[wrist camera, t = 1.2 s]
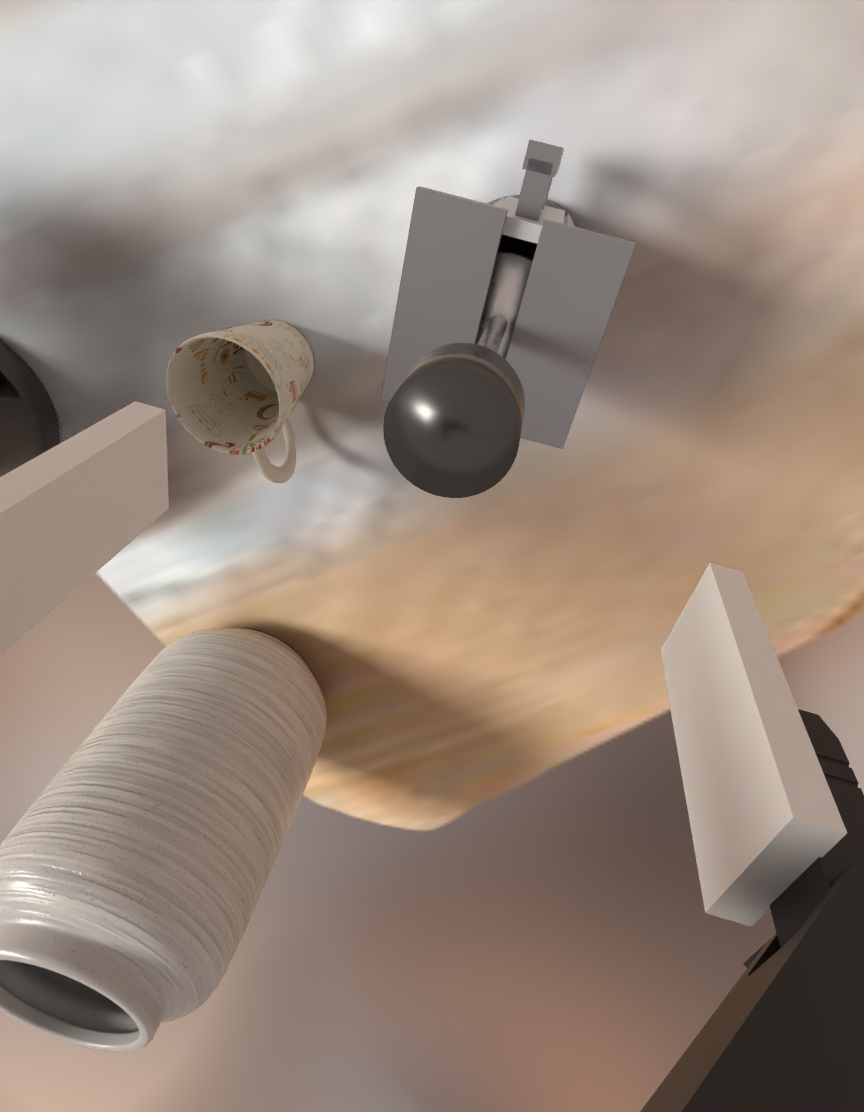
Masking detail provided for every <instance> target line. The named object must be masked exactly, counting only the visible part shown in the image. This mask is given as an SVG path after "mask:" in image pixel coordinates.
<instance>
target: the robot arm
mask: <svg viewBox="0 0 864 1112" xmlns="http://www.w3.org/2000/svg"><path fill="white" fill-rule="evenodd" d="M58 440H59V433H58V425H57V420H56V416H55V413H54V409H53V407H52V404H51V402H50V400H49V398H48V396H47V394H46V392H45V390H44V388H43V387H42V385H41V383H40V382H39V380H38V379H37V377H36V376H35V375H34V373H33V372H32V371H31V370H30V368H29V367H28V366H27V365H26V364H25V363H24V362H23V361H22V360H21V359H20V357H18V356H17V355H16V354H15V353H14V352H13V351H12V350H11V349H10V348H8V347H7V346H6V345H5V344H3V343H2V342H0V656H1V655H2V654H3V653H4V652H5V651H6V650H8V649H9V648H10V647H11V646H12V645H13V644H14V643H16V642H17V641H18V640H19V639H20V638H21V637H22V636H24V635H25V634H26V633H27V632H28V631H29V630H30V629H32V628H33V627H34V626H35V625H36V624H37V623H38V622H39V621H41V620H42V619H43V618H44V617H45V616H46V615H47V614H49V613H50V612H51V611H52V610H53V609H54V608H56V607H57V606H58V605H59V604H60V603H61V602H62V601H64V600H65V599H66V598H67V597H68V596H69V595H71V594H72V593H73V592H74V591H75V590H76V589H77V588H79V586H81V585H82V584H83V583H84V582H85V581H86V580H88V579H89V578H90V577H91V576H92V575H93V574H95V573H96V572H97V571H98V570H99V569H100V568H101V567H103V566H104V565H105V564H106V563H107V562H108V561H109V560H111V559H112V558H113V557H114V556H115V555H116V554H117V553H119V552H120V551H121V550H122V549H123V548H124V547H125V546H127V545H128V544H129V543H130V542H131V541H132V540H133V539H135V538H136V537H137V536H138V535H139V534H140V533H141V532H143V531H144V530H145V529H146V528H147V527H148V526H149V525H151V524H152V523H153V522H154V521H155V520H156V519H157V518H159V517H160V516H161V515H162V514H163V513H164V512H165V511H167V510H168V509H169V494H168V465H167V435H166V410H165V409H161V408H158V407H154V406H150V405H147V404H143V403H140V402H136V401H135V402H133V403H131V404H129V405H128V406H126V407H124V408H122V409H120V410H119V411H117V412H115V413H113V414H112V415H110V416H108V417H106V418H104V419H103V420H101V421H99V422H97V423H96V424H94V425H92V426H90V427H88V428H87V429H85V430H83V431H81V432H80V433H78V434H76V435H74V436H73V437H71V438H69V439H67V440H65V441H64V442H62V443H60V444H58ZM661 656H662V662H663V668H664V674H665V679H666V685H667V691H668V697H669V703H670V709H671V714H672V720H673V726H674V732H675V737H676V744H677V749H678V755H679V761H680V767H681V773H682V778H683V785H684V790H685V796H686V802H687V808H688V814H689V820H690V826H691V831H692V837H693V843H694V849H695V855H696V861H697V867H698V872H699V878H700V884H701V890H702V896H703V901H704V907H705V912H706V913H708V914H711V915H715V916H718V917H721V918H724V919H728V920H731V921H734V922H737V923H741V924H744V925H747V926H752V925H753V924H754V923H755V922H756V921H757V920H758V919H760V918H761V917H762V916H763V915H764V913H766V912H767V911H768V910H769V909H771V913H772V917H773V921H774V925H775V928H776V934H775V935H774V936H773V937H772V938H771V939H770V940H769V941H768V942H767V943H765V945H763V946H762V947H761V948H760V949H759V950H758V951H757V952H756V953H755V954H753V956H751V957H750V958H749V959H748V960H747V961H746V962H745V963H744V965H745V966H746V967H747V969H746V971H745V972H744V973H743V975H742V976H741V977H740V979H739V980H738V981H737V983H736V984H735V986H734V987H733V988H732V989H731V991H730V992H729V994H728V995H727V996H726V997H725V999H724V1000H723V1002H722V1003H721V1004H720V1006H719V1007H718V1008H717V1010H716V1011H715V1012H714V1014H713V1015H712V1016H711V1018H710V1019H709V1020H708V1022H707V1023H706V1025H705V1026H704V1027H703V1028H702V1030H701V1031H700V1033H699V1034H698V1035H697V1036H696V1038H695V1039H694V1040H693V1042H692V1043H691V1044H690V1046H689V1047H688V1048H687V1050H686V1051H685V1052H684V1054H683V1055H682V1056H681V1058H680V1059H679V1061H678V1062H677V1063H676V1065H675V1066H674V1068H673V1069H672V1070H671V1071H670V1073H669V1074H668V1075H667V1077H666V1078H665V1079H664V1081H663V1082H662V1083H661V1085H660V1086H659V1087H658V1089H657V1090H656V1091H655V1093H654V1094H653V1095H652V1097H651V1098H650V1100H649V1101H648V1102H647V1103H646V1105H645V1106H644V1107H643V1109H642V1110H641V1111H640V1112H864V795H863V792H862V790H861V789H860V788H858V781H857V779H856V777H855V775H854V772H853V770H852V768H849V761H848V759H847V757H846V755H845V752H844V750H843V748H842V746H841V743H840V741H839V739H838V738H837V737H836V735H835V734H834V733H833V732H832V731H831V730H830V728H829V727H828V726H827V725H826V724H825V722H824V721H823V720H822V719H821V718H820V716H819V715H816V714H813V713H810V712H806V711H803V710H799V709H798V708H797V706H796V703H795V701H794V698H793V696H792V693H791V691H790V689H789V686H788V683H787V681H786V678H785V676H784V674H783V671H782V668H781V666H780V663H779V661H778V658H777V656H776V653H775V651H774V648H773V646H772V643H771V641H770V638H769V636H768V633H767V631H766V628H765V626H764V623H763V621H762V618H761V616H760V613H759V611H758V608H757V606H756V603H755V601H754V598H753V596H752V593H751V591H750V588H749V586H748V583H747V581H746V578H745V576H744V573H743V572H742V571H738V570H734V569H731V568H727V567H724V566H720V565H717V564H713V563H709V565H708V567H707V569H706V570H705V572H704V574H703V576H702V577H701V579H700V581H699V583H698V584H697V586H696V588H695V590H694V592H693V593H692V595H691V597H690V599H689V600H688V602H687V604H686V606H685V607H684V609H683V611H682V613H681V615H680V616H679V618H678V620H677V622H676V623H675V625H674V627H673V629H672V630H671V632H670V634H669V636H668V638H667V639H666V641H665V643H664V645H663V646H662V648H661Z"/></svg>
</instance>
